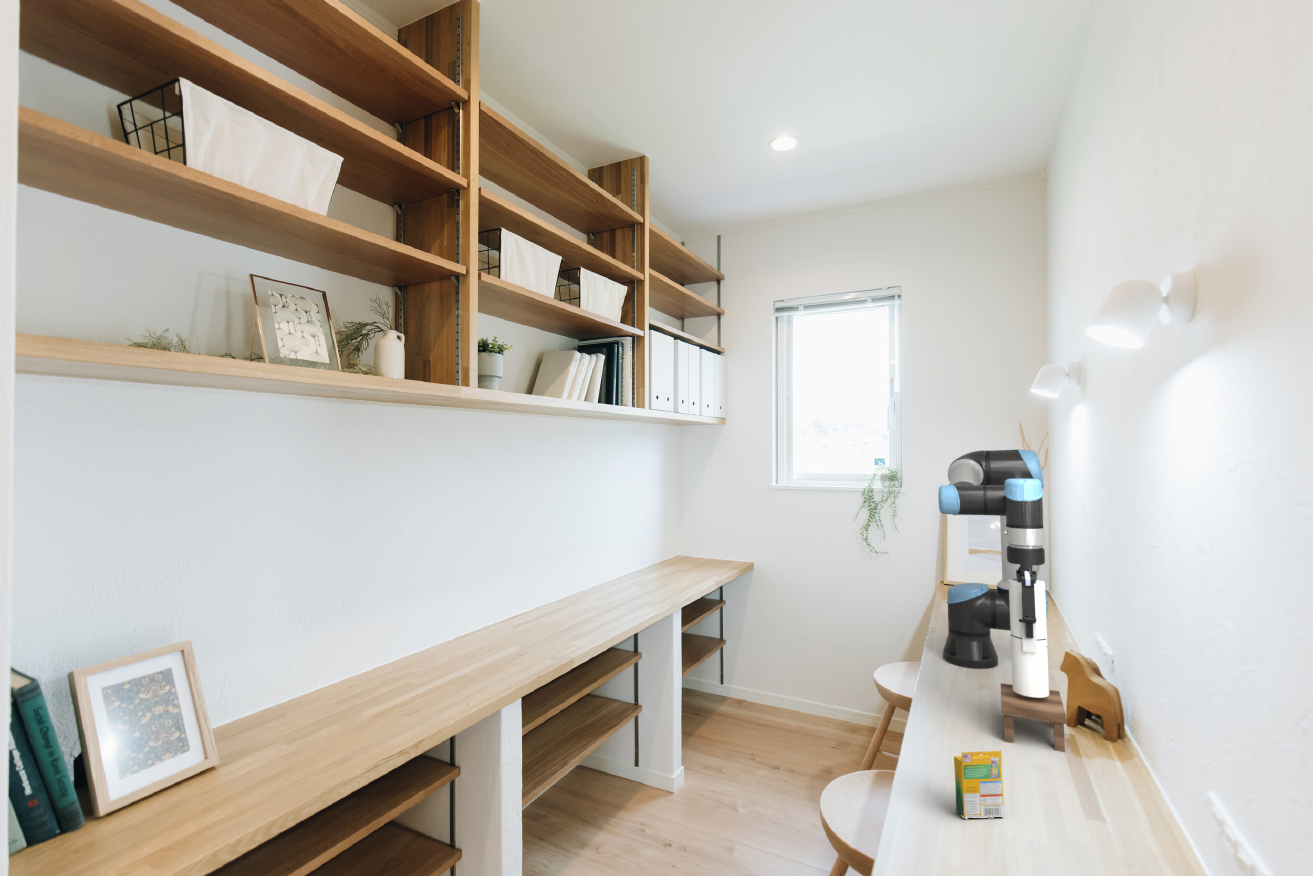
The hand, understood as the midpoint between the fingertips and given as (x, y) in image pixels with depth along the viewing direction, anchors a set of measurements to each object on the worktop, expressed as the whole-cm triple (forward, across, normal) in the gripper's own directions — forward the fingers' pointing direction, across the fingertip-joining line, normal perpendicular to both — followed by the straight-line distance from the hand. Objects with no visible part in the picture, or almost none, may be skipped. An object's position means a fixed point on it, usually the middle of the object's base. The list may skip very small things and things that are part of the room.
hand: (1029, 646), depth 143 cm
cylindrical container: (+10, 0, 0) cm, 10 cm away
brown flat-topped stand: (+19, 0, 0) cm, 19 cm away
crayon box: (+20, +41, -10) cm, 47 cm away
